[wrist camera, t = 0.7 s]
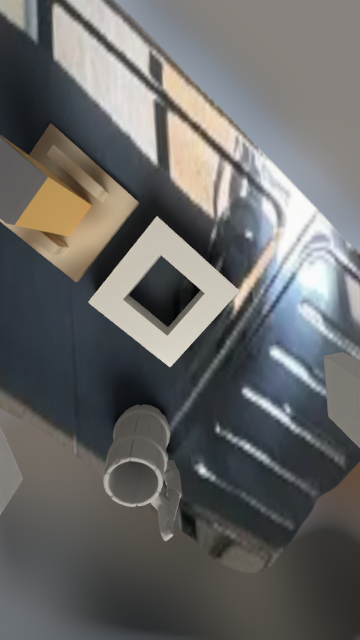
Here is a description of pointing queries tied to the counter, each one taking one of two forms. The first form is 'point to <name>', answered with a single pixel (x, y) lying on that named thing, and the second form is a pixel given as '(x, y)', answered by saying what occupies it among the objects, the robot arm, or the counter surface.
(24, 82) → the counter surface
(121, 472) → the mug
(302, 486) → the counter surface
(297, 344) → the counter surface
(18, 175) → the plug
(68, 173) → the beige plate with rail
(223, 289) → the port
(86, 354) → the counter surface
